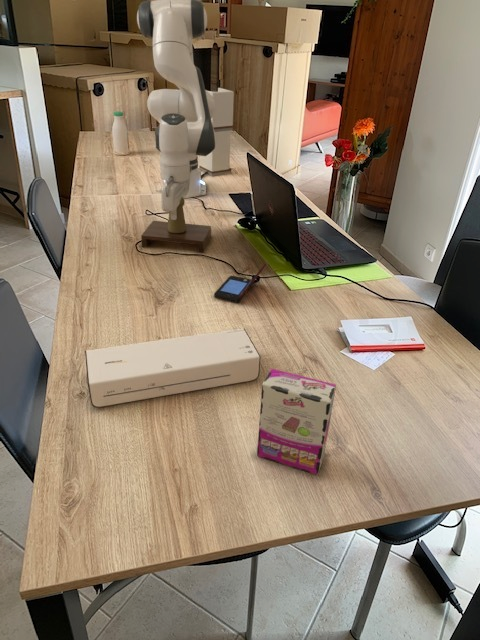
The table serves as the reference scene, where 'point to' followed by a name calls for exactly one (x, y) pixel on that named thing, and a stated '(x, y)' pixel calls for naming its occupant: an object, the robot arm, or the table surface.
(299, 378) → the candy bar box
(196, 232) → the desk riser
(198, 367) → the laminator
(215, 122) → the white square pillar
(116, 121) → the milk bottle
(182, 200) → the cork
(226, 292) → the handheld console
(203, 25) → the robot arm
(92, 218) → the table surface
